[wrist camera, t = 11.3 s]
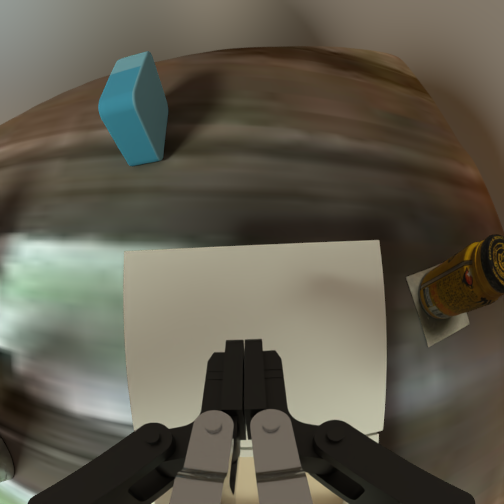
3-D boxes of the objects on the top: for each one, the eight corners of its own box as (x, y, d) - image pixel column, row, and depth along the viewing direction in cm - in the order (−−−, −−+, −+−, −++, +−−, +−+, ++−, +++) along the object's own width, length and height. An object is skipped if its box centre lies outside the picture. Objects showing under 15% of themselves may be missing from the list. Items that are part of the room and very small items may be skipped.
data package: (142, 113, 39) (118, 55, 28) (169, 107, 40) (149, 46, 28) (131, 171, 35) (94, 109, 24) (163, 165, 35) (132, 97, 24)
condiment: (448, 260, 29) (508, 218, 18) (468, 324, 26) (537, 302, 15) (404, 277, 29) (465, 234, 18) (426, 347, 26) (498, 334, 15)
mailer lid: (379, 239, 19) (375, 242, 20) (124, 251, 20) (128, 253, 20) (382, 430, 16) (379, 427, 17) (135, 438, 17) (138, 435, 17)
